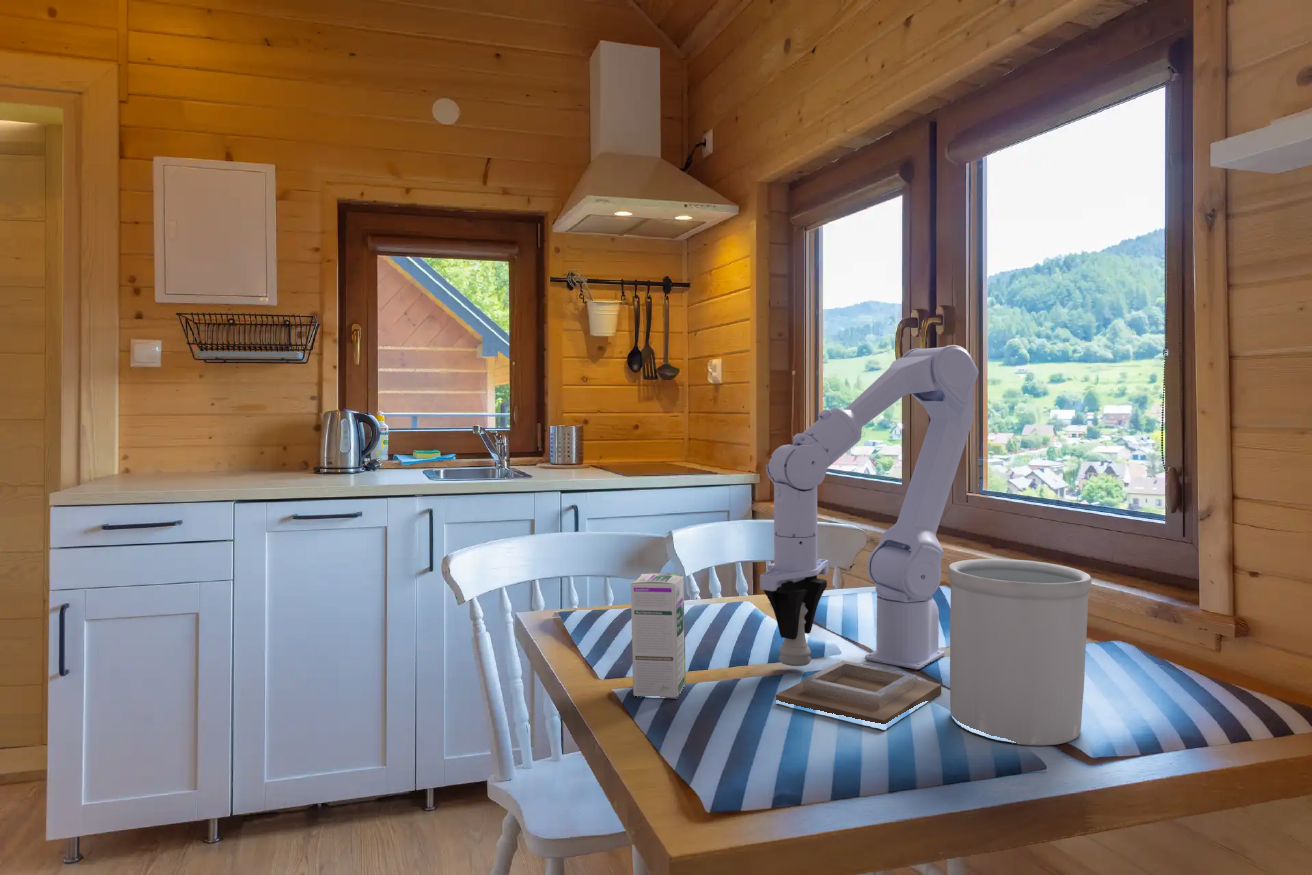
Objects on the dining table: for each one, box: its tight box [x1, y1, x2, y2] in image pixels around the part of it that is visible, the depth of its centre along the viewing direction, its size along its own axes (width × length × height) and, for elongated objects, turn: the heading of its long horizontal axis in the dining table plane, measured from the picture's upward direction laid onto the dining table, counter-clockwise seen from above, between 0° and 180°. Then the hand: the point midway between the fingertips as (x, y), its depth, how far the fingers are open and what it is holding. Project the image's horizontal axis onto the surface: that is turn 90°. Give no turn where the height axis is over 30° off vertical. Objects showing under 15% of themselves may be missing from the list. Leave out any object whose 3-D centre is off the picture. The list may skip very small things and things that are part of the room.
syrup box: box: [630, 572, 687, 698], centre depth 113 cm, size 6×6×14 cm
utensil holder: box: [947, 558, 1092, 746], centre depth 101 cm, size 15×15×18 cm
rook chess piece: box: [777, 602, 812, 667], centre depth 121 cm, size 4×4×8 cm
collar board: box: [775, 660, 942, 724], centre depth 110 cm, size 16×14×3 cm
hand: (795, 634), depth 122 cm, fingers closed on rook chess piece, 3 cm apart
